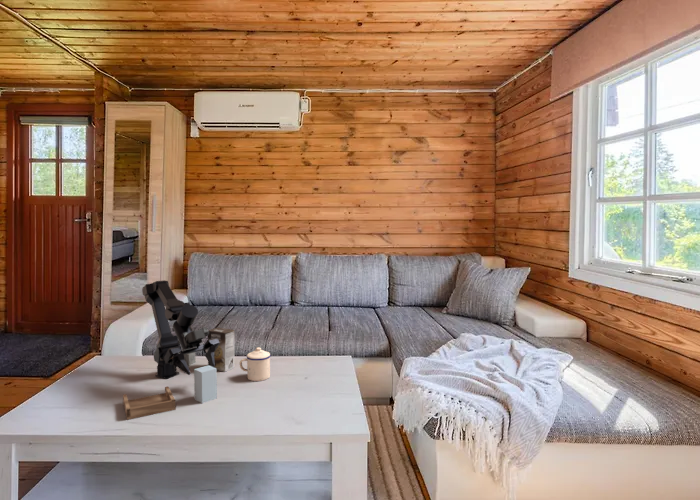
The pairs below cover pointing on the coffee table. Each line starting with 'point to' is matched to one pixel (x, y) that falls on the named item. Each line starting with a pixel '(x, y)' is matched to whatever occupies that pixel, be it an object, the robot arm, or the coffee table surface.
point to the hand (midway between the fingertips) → (202, 370)
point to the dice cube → (190, 358)
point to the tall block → (205, 383)
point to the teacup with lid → (257, 365)
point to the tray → (149, 404)
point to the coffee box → (223, 348)
